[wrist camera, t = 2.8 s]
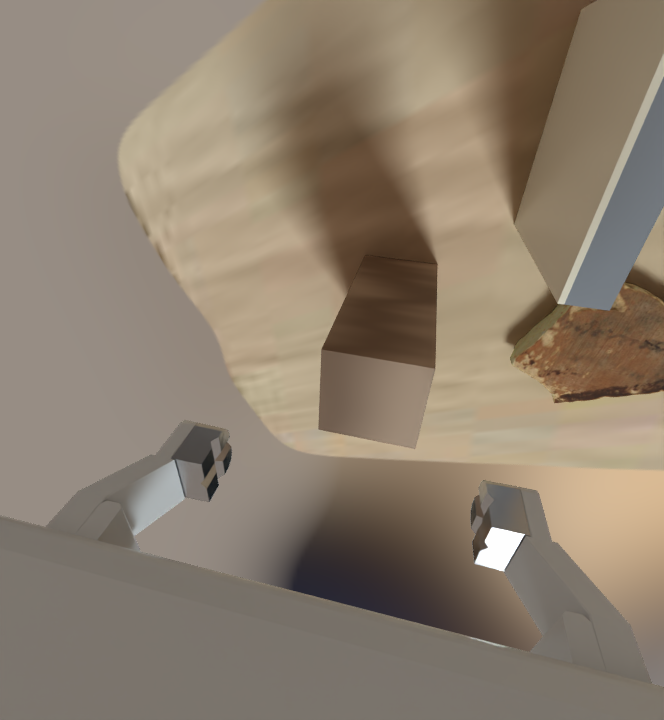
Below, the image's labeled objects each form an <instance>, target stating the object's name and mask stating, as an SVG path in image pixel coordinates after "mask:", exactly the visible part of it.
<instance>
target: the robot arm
mask: <svg viewBox="0 0 664 720" xmlns="http://www.w3.org/2000/svg"><path fill="white" fill-rule="evenodd" d="M229 438H230V436H229V431H228V430H227V429H223V428H219V427H215V426H210V425H206V424H201V423H196V422H192V421H187V420H184V421H183V422H181V423H180V424H179V425H178V427H177V428H176V429H175V430H174V432H173V433H172V434H171V436H170V437H169V438H168V439H167V441H166V442H165V443H164V444H163V446H162V447H161V448H160V450H159V451H158V452H157V454H156V455H149V456H147V457H145V458H143V459H141V460H139V461H137V462H135V463H133V464H131V465H129V466H127V467H125V468H124V469H122V470H119V471H117V472H115V473H114V474H112V475H110V476H108V477H105V478H104V479H102V480H99V481H97V482H96V483H94V484H92V485H90V486H88V487H86V488H84V489H82V490H80V491H78V492H77V493H76V494H75V495H74V496H73V497H72V498H71V499H70V501H68V503H67V504H66V505H65V506H64V507H63V508H62V509H61V510H60V511H59V512H58V514H57V515H56V516H55V517H54V518H53V519H52V520H51V521H50V522H49V524H48V525H47V526H46V527H44V526H40V525H36V524H32V523H28V522H25V521H21V520H17V519H13V518H9V517H5V516H2V515H0V720H664V687H662V686H658V685H654V684H652V682H651V679H650V677H649V674H648V671H647V668H646V666H645V663H644V660H643V658H642V655H641V652H640V650H639V647H638V644H637V641H636V639H635V636H634V634H633V631H632V628H631V625H630V624H629V623H628V622H627V621H626V620H625V618H624V617H623V616H622V615H621V614H620V613H619V612H618V610H617V609H616V608H615V607H614V606H613V605H612V604H611V603H610V602H609V600H608V599H607V598H606V597H605V596H604V595H603V594H602V593H601V591H600V590H599V589H598V588H597V587H596V586H595V585H594V583H593V582H592V581H591V580H590V579H589V578H588V577H587V576H586V574H584V572H583V571H582V570H581V569H580V568H579V567H578V565H577V564H576V563H575V562H574V561H573V560H572V559H571V558H570V557H569V555H568V554H567V553H566V552H565V551H564V550H563V549H562V547H561V546H560V545H559V544H558V543H555V542H552V540H551V536H550V533H549V529H548V525H547V522H546V518H545V514H544V510H543V507H542V503H541V499H540V496H539V493H538V492H537V491H536V490H532V489H527V488H521V487H517V486H512V485H507V484H501V483H496V482H491V481H486V480H483V481H482V482H481V484H480V486H479V495H478V496H476V497H475V498H474V501H473V503H472V508H471V529H472V530H473V531H474V533H475V534H476V535H475V537H474V539H473V541H472V545H473V555H474V563H475V564H479V565H482V566H486V567H490V568H494V569H498V570H502V571H505V572H504V573H505V575H506V576H507V578H508V580H509V582H510V583H511V585H512V586H513V588H514V590H515V591H516V593H517V595H518V596H519V598H520V599H521V601H522V603H523V604H524V606H525V608H526V609H527V611H528V612H529V614H530V616H531V617H532V619H533V621H534V622H535V624H536V626H537V627H538V629H539V631H540V632H541V634H542V635H543V637H542V638H541V639H540V641H539V642H538V643H537V644H536V645H535V646H534V647H533V649H532V650H531V651H530V652H527V651H522V650H519V649H515V648H511V647H507V646H503V645H500V644H496V643H492V642H488V641H484V640H480V639H476V638H473V637H469V636H465V635H461V634H457V633H453V632H449V631H446V630H442V629H438V628H434V627H430V626H426V625H422V624H418V623H415V622H410V621H407V620H403V619H399V618H395V617H391V616H388V615H384V614H380V613H376V612H372V611H368V610H365V609H361V608H357V607H353V606H349V605H345V604H341V603H337V602H334V601H330V600H326V599H322V598H318V597H314V596H310V595H307V594H303V593H299V592H295V591H291V590H287V589H283V588H279V587H276V586H272V585H268V584H264V583H260V582H256V581H252V580H248V579H244V578H241V577H237V576H233V575H229V574H225V573H221V572H218V571H214V570H209V569H206V568H202V567H198V566H194V565H191V564H187V563H183V562H179V561H175V560H171V559H167V558H163V557H159V556H156V555H152V554H148V553H144V552H140V548H139V546H138V543H137V541H136V539H135V537H134V536H135V535H136V534H138V533H139V532H140V531H142V530H143V529H144V528H146V527H147V526H148V525H150V524H151V523H153V522H154V521H155V520H157V519H158V518H159V517H161V516H162V515H163V514H165V513H166V512H167V511H169V510H170V509H172V508H173V507H174V506H176V505H177V504H178V503H180V502H181V501H182V500H184V499H185V497H187V498H192V499H196V500H201V501H207V502H210V500H211V498H212V497H213V494H214V493H215V491H216V489H217V488H218V486H219V484H218V478H220V477H221V476H223V475H224V474H225V473H226V471H227V469H228V467H229V464H230V461H231V456H232V449H231V446H230V445H229V444H228V443H227V441H228V439H229Z"/></svg>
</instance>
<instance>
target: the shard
mask: <svg viewBox="0 0 664 720" xmlns="http://www.w3.org/2000/svg"><path fill="white" fill-rule="evenodd" d="M510 360H511V364H512V365H513V366H514V367H516V368H517V369H519V370H520V371H522V372H524V373H526V374H528V375H529V376H531V377H532V378H534V379H536V380H537V381H539V382H540V383H541V384H543V385H544V387H545V388H546V389H547V390H548V391H549V392H550V393H552V396H553V401H554V403H561V402H574V401H587V400H595V399H599V398H602V397H621V396H629V395H638V394H651V393H656V392H661V391H664V302H663V301H662V300H661V299H659V298H658V297H656V296H654V295H653V294H651V293H650V292H648V291H647V290H645V289H643V288H640V287H638V286H636V285H633V284H628V283H625V282H624V284H623V286H622V288H621V290H620V292H619V294H618V295H617V297H616V299H615V301H614V303H613V305H612V307H611V309H610V311H608V310H601V309H593V308H586V307H579V306H571V305H564V304H559V305H558V306H557V307H556V308H555V309H554V310H553V312H552V313H550V314H549V315H548V316H547V317H546V318H544V319H543V320H542V321H540V322H539V323H538V324H537V325H536V326H534V327H533V328H532V329H531V331H529V332H528V333H527V335H525V336H524V337H523V338H521V339H520V340H519V341H518V342H517V344H516V346H515V347H514V351H513V353H512V355H511V357H510Z"/></svg>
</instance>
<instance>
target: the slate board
mask: <svg viewBox="0 0 664 720" xmlns="http://www.w3.org/2000/svg"><path fill="white" fill-rule="evenodd" d="M663 206H664V0H597V1H595V2H593V3H591V4H590V5H588V6H586V7H585V8H583V9H581V12H580V15H579V18H578V22H577V25H576V28H575V31H574V34H573V38H572V41H571V44H570V47H569V50H568V54H567V57H566V60H565V63H564V66H563V70H562V73H561V76H560V79H559V82H558V86H557V89H556V92H555V95H554V98H553V102H552V105H551V108H550V111H549V114H548V118H547V121H546V124H545V127H544V130H543V134H542V137H541V140H540V143H539V146H538V150H537V153H536V156H535V159H534V162H533V166H532V169H531V172H530V175H529V178H528V182H527V185H526V188H525V191H524V194H523V198H522V201H521V204H520V207H519V210H518V214H517V217H516V220H515V223H514V225H515V227H516V229H517V231H518V232H519V234H520V236H521V238H522V240H523V242H524V243H525V245H526V247H527V249H528V251H529V253H530V254H531V256H532V258H533V260H534V262H535V264H536V265H537V267H538V269H539V271H540V273H541V275H542V276H543V278H544V280H545V282H546V284H547V286H548V287H549V289H550V291H551V293H552V295H553V297H554V298H555V300H556V302H557V304H564V305H571V306H579V307H586V308H593V309H601V310H608V311H610V309H611V307H612V305H613V303H614V301H615V299H616V297H617V295H618V294H619V292H620V290H621V288H622V286H623V284H624V282H625V280H626V278H627V276H628V274H629V272H630V270H631V268H632V266H633V265H634V263H635V261H636V259H637V257H638V255H639V253H640V251H641V249H642V247H643V245H644V243H645V241H646V239H647V237H648V235H649V234H650V232H651V230H652V228H653V226H654V224H655V222H656V220H657V218H658V216H659V214H660V212H661V210H662V208H663Z"/></svg>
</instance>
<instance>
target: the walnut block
mask: <svg viewBox="0 0 664 720" xmlns="http://www.w3.org/2000/svg"><path fill="white" fill-rule="evenodd" d="M436 311H437V264H431V263H423V262H415V261H408V260H400V259H392V258H384V257H376V256H368V255H365V257H364V259H363V261H362V263H361V266H360V268H359V270H358V272H357V274H356V276H355V279H354V281H353V283H352V285H351V287H350V289H349V291H348V294H347V296H346V298H345V300H344V302H343V304H342V307H341V309H340V311H339V313H338V315H337V317H336V319H335V322H334V324H333V326H332V328H331V330H330V332H329V335H328V337H327V339H326V341H325V343H324V345H323V347H322V351H321V377H320V403H319V430H324V431H329V432H334V433H339V434H344V435H349V436H354V437H359V438H363V439H368V440H373V441H378V442H383V443H388V444H393V445H398V446H403V447H408V448H413V449H415V448H416V444H417V440H418V436H419V432H420V428H421V424H422V420H423V416H424V412H425V408H426V404H427V400H428V396H429V392H430V388H431V384H432V380H433V376H434V372H435V359H436Z"/></svg>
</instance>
